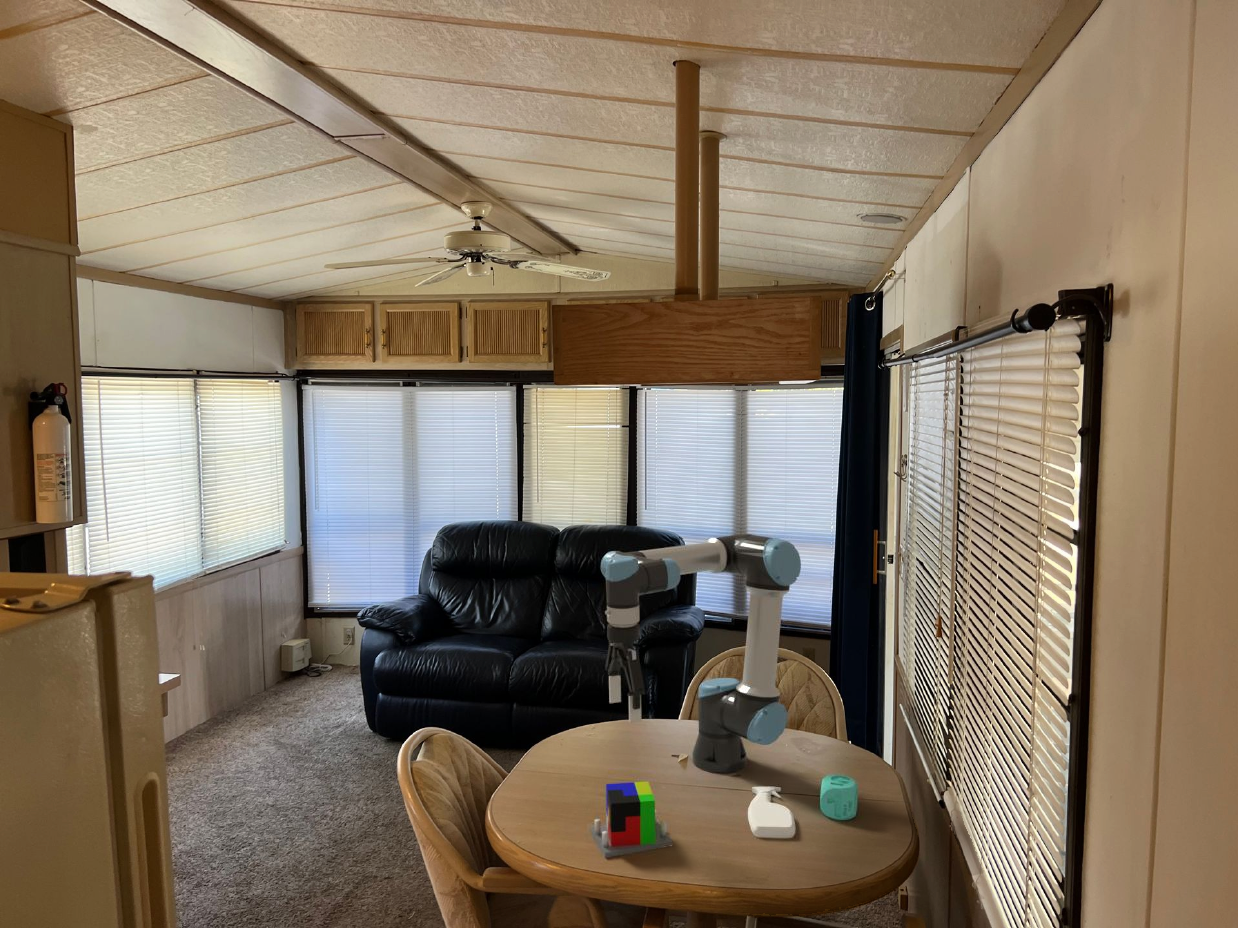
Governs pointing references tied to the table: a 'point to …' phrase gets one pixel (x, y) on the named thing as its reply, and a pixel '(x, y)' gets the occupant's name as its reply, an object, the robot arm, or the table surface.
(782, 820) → the spray bottle
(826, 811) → the decorative dice
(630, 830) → the puzzle toy
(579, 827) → the table surface
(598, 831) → the pin tray
